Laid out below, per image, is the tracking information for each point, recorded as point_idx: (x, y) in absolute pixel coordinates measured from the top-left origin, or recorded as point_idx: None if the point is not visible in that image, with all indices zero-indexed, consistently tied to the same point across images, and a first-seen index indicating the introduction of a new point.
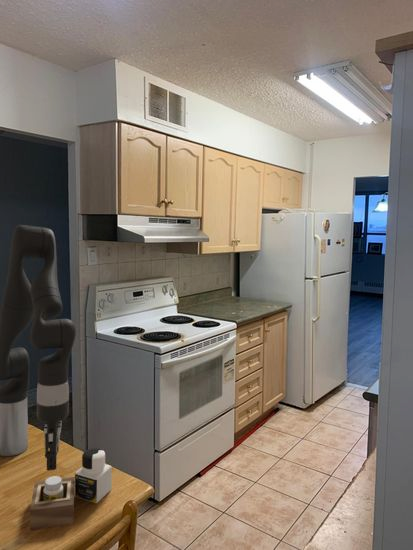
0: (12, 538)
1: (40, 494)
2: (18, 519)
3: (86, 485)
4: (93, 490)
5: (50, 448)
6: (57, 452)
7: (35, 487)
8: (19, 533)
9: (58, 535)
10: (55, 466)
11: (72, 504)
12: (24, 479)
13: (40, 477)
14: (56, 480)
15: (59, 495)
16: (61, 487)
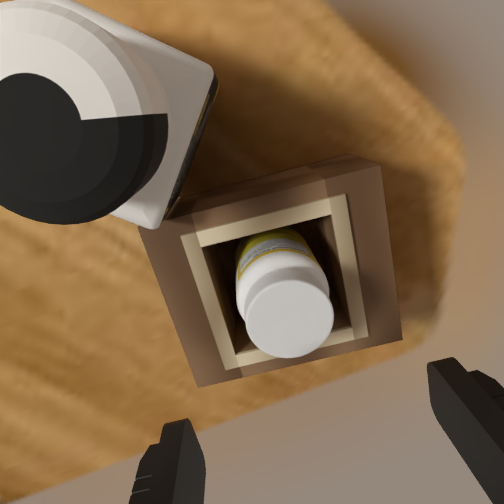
0: (406, 333)
1: None
2: None
3: (194, 142)
4: (212, 96)
5: (201, 497)
6: (188, 419)
7: (241, 372)
8: None
9: (412, 191)
10: (467, 373)
11: (380, 169)
12: (87, 414)
13: (62, 369)
14: (293, 305)
15: (307, 254)
16: (287, 262)
